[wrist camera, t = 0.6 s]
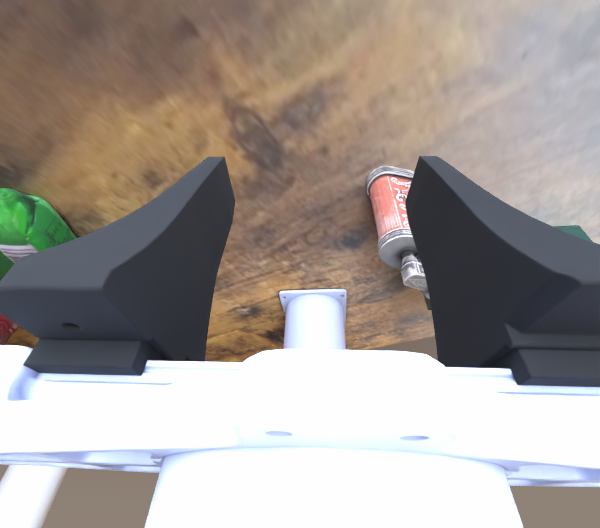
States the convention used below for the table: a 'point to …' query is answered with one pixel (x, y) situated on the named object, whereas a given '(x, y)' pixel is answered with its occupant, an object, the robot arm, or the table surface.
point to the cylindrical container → (28, 494)
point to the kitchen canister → (6, 329)
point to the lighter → (395, 224)
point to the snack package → (27, 227)
